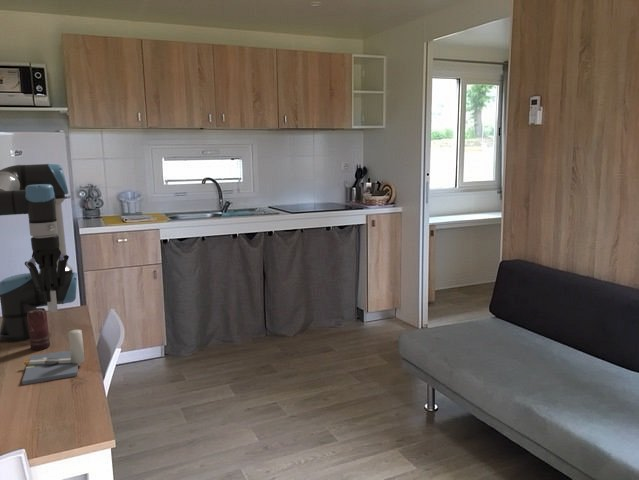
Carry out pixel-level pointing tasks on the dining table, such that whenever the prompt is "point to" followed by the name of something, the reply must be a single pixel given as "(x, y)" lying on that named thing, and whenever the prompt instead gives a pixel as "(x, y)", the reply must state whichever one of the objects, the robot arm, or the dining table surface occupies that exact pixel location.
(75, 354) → the needle
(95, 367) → the dining table surface
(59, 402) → the dining table surface
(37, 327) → the can
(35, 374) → the dial plate
